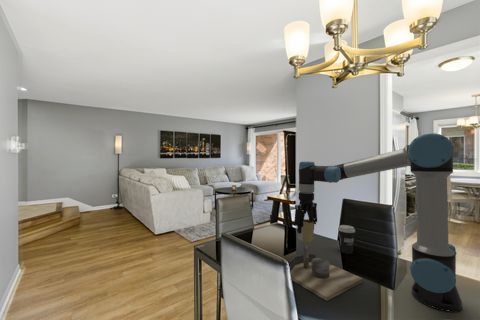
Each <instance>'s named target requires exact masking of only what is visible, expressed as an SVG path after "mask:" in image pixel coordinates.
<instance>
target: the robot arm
mask: <svg viewBox="0 0 480 320" xmlns="http://www.w3.org/2000/svg"><path fill="white" fill-rule="evenodd" d="M453 157H454V146H453V143H452V141H451V140H450V139H449V137H446V136H445V135H443V134H440V133H436V132H432V133H429V132H428V133H423V134H421V135H419V136H416V137H415V138H413V140H412V141H411V142H410V143H409V144H406V145H405V146H404V147H403V148H402V149H401V148H400V149H397V150H393V151H389V152H385V153H380V154H377V155H373V156H369V157H366V158H360V159H358V160H357V159H356V160H353V161H349V162H346V163H345V162H344V163H341V164H337V165H316V164H315V161H300V162H299V164H298V201H299V204H295V205H294V208H295V211H294V220H293V221H294V222H293V224H294V226H297V227H296V228H297V239H298V240H299V239H300V240H299V241H302V240H303V227H302V224H303V220H304V219H305V216H306V214H307V216H308V219H309V220H312V221H313V222H314V225H317V223H318V210H317V206H318V203H316V202H314V200H315V182H320V183H321V182H322V183H329V184H330V183H336V184H337V183H338V182H339V181H342V180H346V179H350V178H356V177H360V176H365V175H370V174H376V173H381V172H385V171H391V170H396V169H401V168H405V167H410V168H409V169H410V173H411V174H413V175H414V176H415V199H416V204H415V205H416V207H415V208H416V209H415V210H416V242H414V243H413V244H411V258H412V259H411V264H410V266H409V267H410V268H409V270H410V275H411V277H412V279H413V280H414V281H413V284H412V286H411V295H412V294H413V295H412V296H413V297H414V298H415V299H416V298H417V299H418V300H419V301H418V300H417V299H416V300H417V301H418V302H420V301H421V302H420V303H422V302H423V303H425V304H427V305H426V306H428V305H430V306H433V307H435V308H438V309H437V310H439V309H443V310H449V311H457V312H459V311H458V310H460V311H462V309H463V300H462V298H461V296H460V294H459V290H458V288H457V286H456V285H457V278H456V277H457V276H456V275H457V271H456V268H457V266H456V265H457V263H456V261H457V259H456V257H457V252H456V251H457V250H456V249H457V248H456V247H455V245H453V244H450V243H449V209H448V207H449V205H448V204H449V203H448V196H449V195H448V177H449V176H450V175H451V174H453V173H454V161H453V160H454V158H453ZM314 235H315V231H314V232H313V238H315V237H314ZM423 303H422V304H423ZM425 304H424V305H425ZM430 306H429V307H430ZM433 307H432V308H433ZM435 308H434V309H435ZM461 308H462V309H461ZM443 310H442V311H443ZM449 311H448V312H449Z"/></svg>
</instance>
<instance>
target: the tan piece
mask: <svg viewBox="0 0 480 320" xmlns="http://www.w3.org/2000/svg"><path fill="white" fill-rule="evenodd" d="M302 227H303V240H300V239H298V240H299V241H302V242H312V241H314V237H313V232H314V233H315V224H314V222H313V221H312V220H309V218H307V219H306V218H304V220H303V224H302Z"/></svg>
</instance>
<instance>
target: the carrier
mask: <svg viewBox="0 0 480 320" xmlns="http://www.w3.org/2000/svg"><path fill="white" fill-rule="evenodd" d="M309 247H310V246H309V245H305V244H304V245H303V253H302V252H301V253H299V254H296V255H294V256H292V257H290V259H289V260H288V261H287V264H288V263H289V266H290V270H291V277H292V280H291V281H292V282H294V283H296V284H297V285H299V286H301V287H303V288H304V289H306V290H308V291H309V292H311V293H313V294H314V295H316V296H317V297H320V298H321V299H322V300H325V301H326V302H328V301H330V300H331V299H334V298H335V297H338V296H339V295H341V294H343V293H345V292H346V291H347V292H348V291H349V290H350V289H352V288H355V287H356V286H358V285H360V284H361V283H364V279H363V277H361V276H358V275H356V274H353V273H351V272H349V271H346V270H345V269H342V268H340V267H338V266H335V265H333V264H330V261H329V260H328V259H326V258H323V257H317V256H316V255H317V254H316V253H315V252H310V251H309V249H310V248H309Z"/></svg>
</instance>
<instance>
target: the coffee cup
mask: <svg viewBox="0 0 480 320" xmlns="http://www.w3.org/2000/svg"><path fill="white" fill-rule="evenodd" d="M337 230H338V236H339V247H340V248H339V249H340V252H341V253H342V254H345V255H346V254H347V255H351V254H353V252H354V241H355V233H356V229H355V227H354V226H352V225H349V224H348V225H347V224H341V225H339V226H338V228H337Z"/></svg>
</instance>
